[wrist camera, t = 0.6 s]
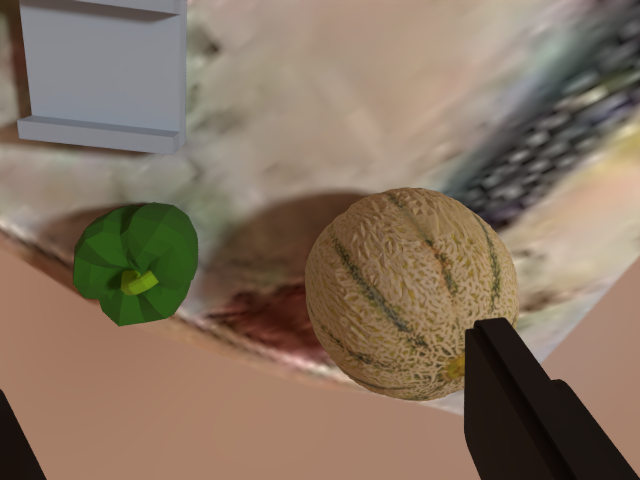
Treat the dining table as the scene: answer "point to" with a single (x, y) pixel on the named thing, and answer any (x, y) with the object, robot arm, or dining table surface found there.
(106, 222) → the bell pepper
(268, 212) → the dining table surface
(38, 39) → the cradle
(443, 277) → the cantaloupe
